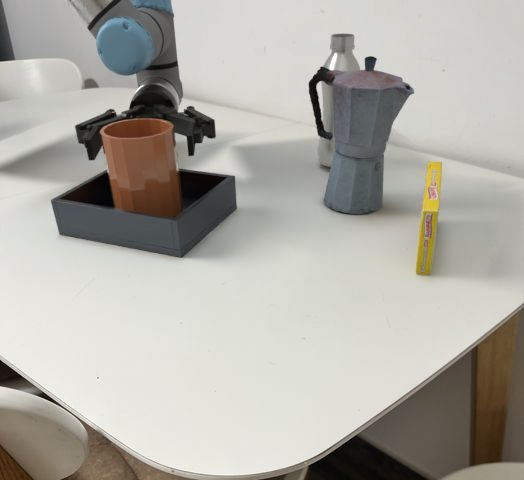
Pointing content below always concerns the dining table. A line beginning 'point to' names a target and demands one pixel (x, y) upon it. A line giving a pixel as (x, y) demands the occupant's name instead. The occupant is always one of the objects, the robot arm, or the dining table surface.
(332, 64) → the silver bottle
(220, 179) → the tray
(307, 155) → the dining table surface
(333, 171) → the moka pot
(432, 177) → the candy box
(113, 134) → the pot
